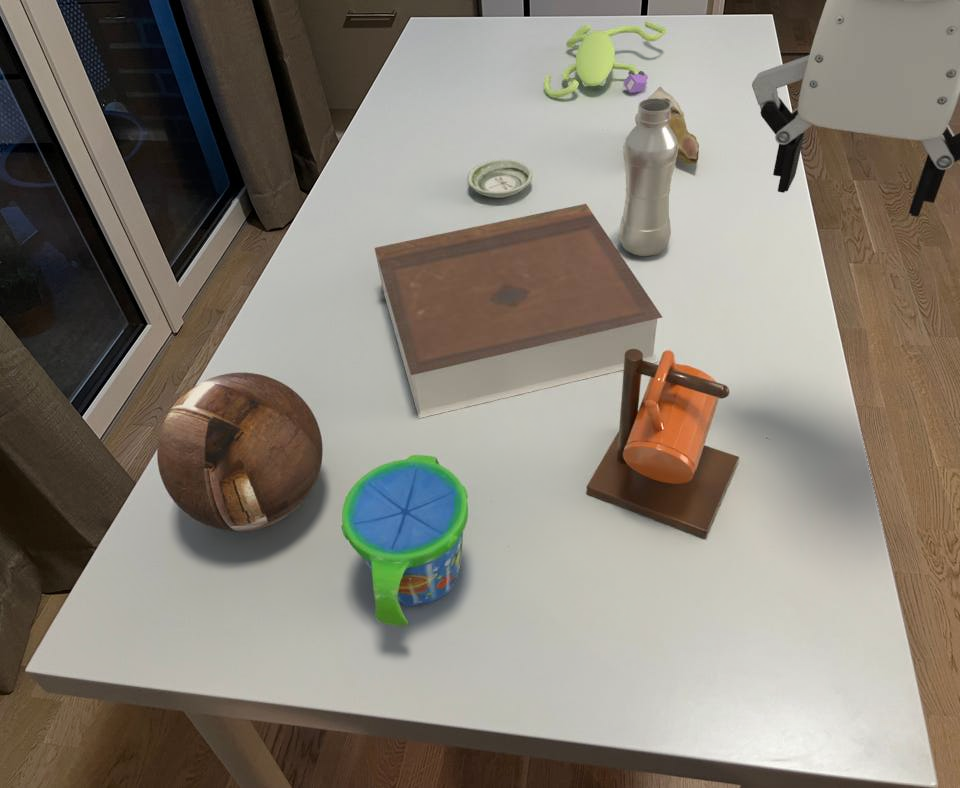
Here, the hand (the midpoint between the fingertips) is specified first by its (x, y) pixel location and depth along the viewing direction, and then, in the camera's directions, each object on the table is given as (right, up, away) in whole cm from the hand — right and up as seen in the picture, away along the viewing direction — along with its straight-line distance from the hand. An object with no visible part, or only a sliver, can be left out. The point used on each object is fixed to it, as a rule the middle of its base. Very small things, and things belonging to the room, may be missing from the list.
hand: (849, 195), depth 62 cm
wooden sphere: (-51, -26, +19) cm, 60 cm away
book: (-25, -7, +35) cm, 44 cm away
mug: (-14, -21, +7) cm, 26 cm away
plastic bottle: (-7, +4, +44) cm, 45 cm away
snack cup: (-35, -32, +11) cm, 49 cm away
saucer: (-26, +15, +58) cm, 65 cm away
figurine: (-6, +44, +84) cm, 95 cm away
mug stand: (-11, -24, +17) cm, 31 cm away
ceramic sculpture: (-1, +22, +62) cm, 65 cm away
